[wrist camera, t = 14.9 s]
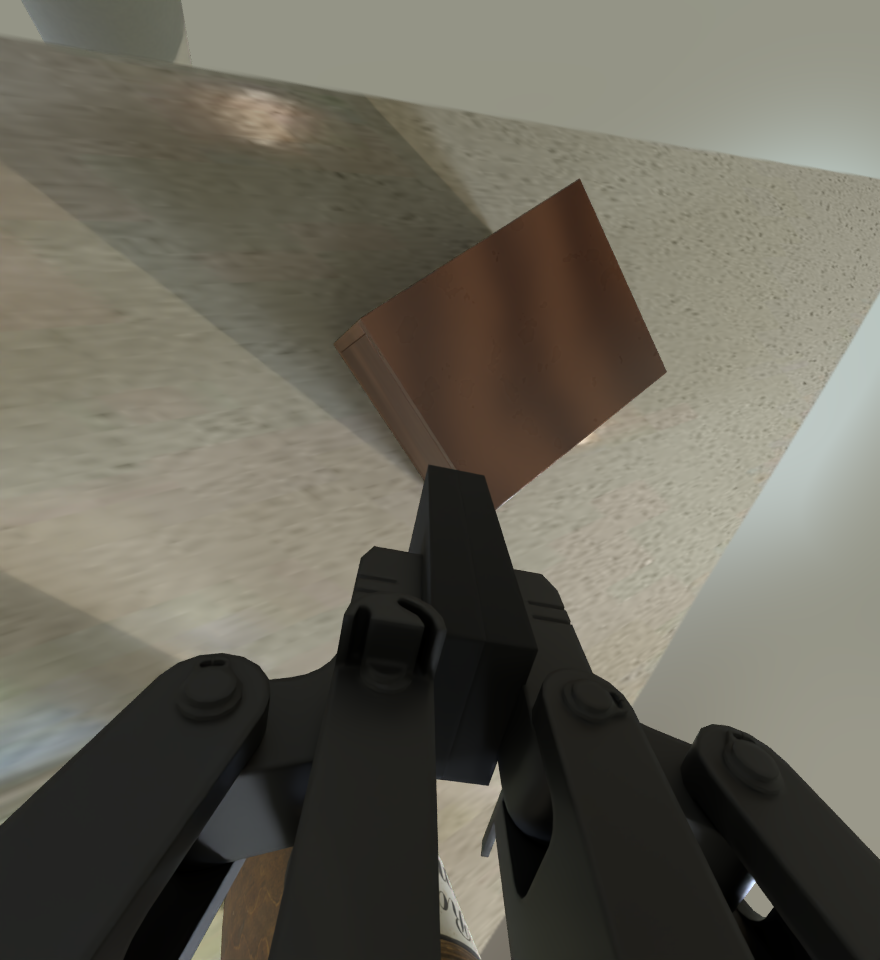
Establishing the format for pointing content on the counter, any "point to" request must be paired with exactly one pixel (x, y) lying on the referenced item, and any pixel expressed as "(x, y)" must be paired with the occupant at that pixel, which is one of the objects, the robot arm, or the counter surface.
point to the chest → (389, 399)
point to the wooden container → (260, 898)
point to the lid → (519, 344)
